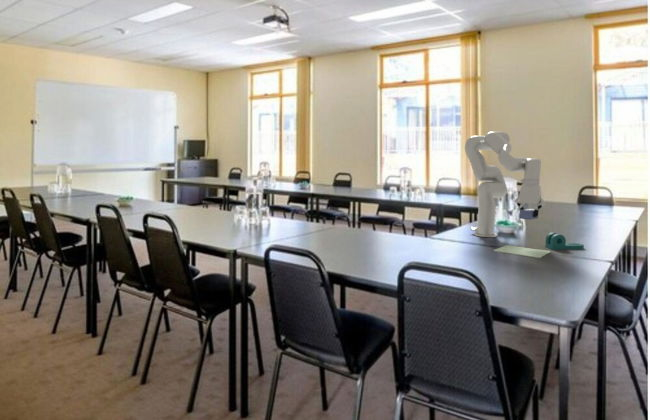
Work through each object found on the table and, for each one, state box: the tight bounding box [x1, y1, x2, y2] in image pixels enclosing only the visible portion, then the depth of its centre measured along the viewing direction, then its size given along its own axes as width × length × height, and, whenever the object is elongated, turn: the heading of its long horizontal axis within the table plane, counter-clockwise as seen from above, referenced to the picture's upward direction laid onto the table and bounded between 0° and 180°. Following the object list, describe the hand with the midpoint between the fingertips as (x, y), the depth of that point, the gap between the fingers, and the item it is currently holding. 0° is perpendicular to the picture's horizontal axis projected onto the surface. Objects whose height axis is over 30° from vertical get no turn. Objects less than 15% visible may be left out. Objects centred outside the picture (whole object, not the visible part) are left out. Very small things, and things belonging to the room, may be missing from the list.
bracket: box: [544, 231, 585, 251], centre depth 243 cm, size 18×7×8 cm, turn 93°
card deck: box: [518, 208, 539, 221], centre depth 247 cm, size 6×9×5 cm, turn 128°
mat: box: [492, 244, 551, 259], centre depth 233 cm, size 22×18×1 cm
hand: (528, 216), depth 247 cm, fingers closed on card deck, 6 cm apart
